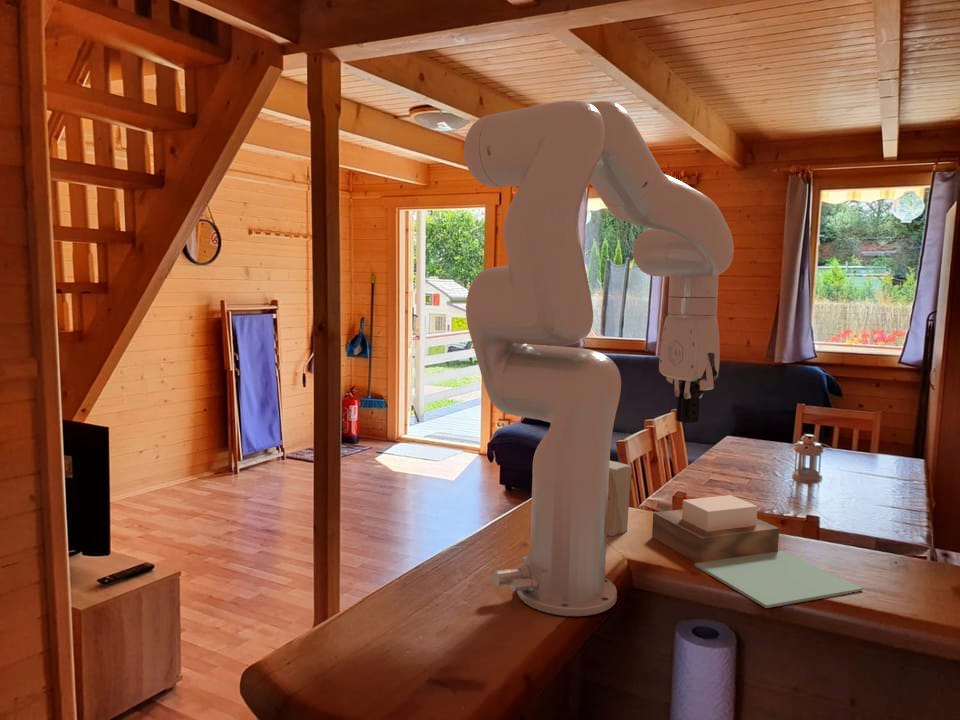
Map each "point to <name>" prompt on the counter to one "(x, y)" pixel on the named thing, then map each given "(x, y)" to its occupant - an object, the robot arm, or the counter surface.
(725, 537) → the plate
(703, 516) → the beige rectangular block
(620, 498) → the box
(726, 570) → the mat
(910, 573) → the counter surface
